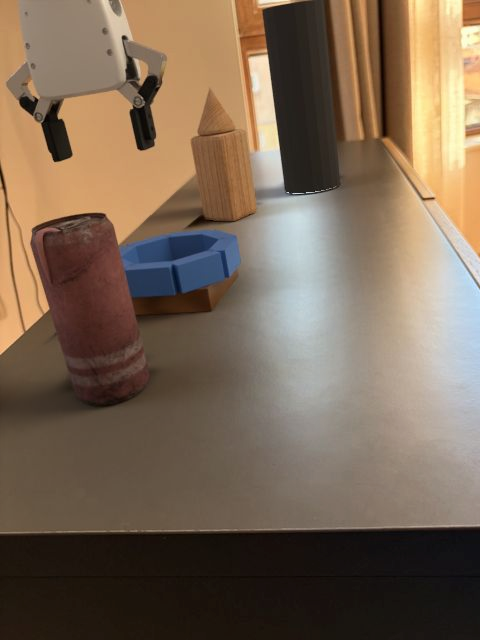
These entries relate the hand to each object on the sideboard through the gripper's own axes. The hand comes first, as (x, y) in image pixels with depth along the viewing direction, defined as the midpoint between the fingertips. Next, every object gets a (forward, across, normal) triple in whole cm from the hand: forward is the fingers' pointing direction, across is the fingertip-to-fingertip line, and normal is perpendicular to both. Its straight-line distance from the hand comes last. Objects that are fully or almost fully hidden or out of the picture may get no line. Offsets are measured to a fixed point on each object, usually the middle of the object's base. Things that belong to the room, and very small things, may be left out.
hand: (104, 154), depth 67 cm
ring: (+14, -5, 0) cm, 14 cm away
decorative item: (+16, -1, -37) cm, 40 cm away
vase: (+16, -12, -54) cm, 57 cm away
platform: (+16, -5, 0) cm, 17 cm away
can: (+16, -7, +22) cm, 28 cm away
